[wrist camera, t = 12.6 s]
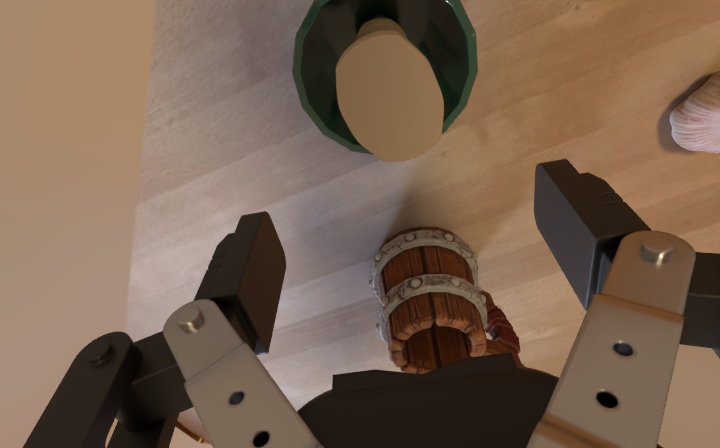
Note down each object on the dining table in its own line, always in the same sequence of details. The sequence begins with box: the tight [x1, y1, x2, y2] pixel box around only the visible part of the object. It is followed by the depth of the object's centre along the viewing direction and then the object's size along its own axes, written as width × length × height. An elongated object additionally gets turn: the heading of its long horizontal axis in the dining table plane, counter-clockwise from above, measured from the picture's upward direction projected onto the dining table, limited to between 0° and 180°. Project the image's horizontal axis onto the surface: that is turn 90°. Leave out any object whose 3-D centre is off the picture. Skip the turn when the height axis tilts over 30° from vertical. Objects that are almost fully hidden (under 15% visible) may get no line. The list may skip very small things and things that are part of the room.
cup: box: [292, 0, 478, 155], centre depth 30 cm, size 11×11×10 cm
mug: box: [369, 227, 525, 374], centre depth 43 cm, size 12×14×15 cm
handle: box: [336, 15, 444, 162], centre depth 27 cm, size 5×6×15 cm
